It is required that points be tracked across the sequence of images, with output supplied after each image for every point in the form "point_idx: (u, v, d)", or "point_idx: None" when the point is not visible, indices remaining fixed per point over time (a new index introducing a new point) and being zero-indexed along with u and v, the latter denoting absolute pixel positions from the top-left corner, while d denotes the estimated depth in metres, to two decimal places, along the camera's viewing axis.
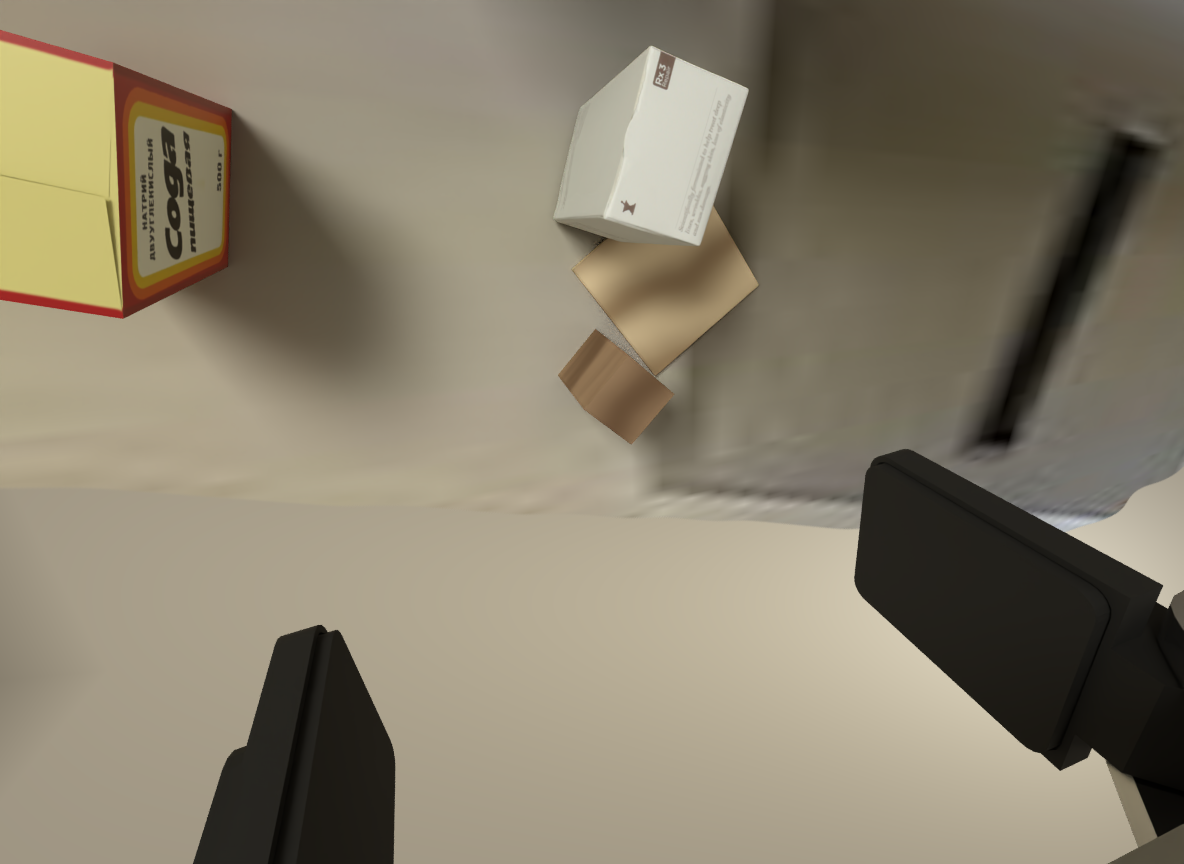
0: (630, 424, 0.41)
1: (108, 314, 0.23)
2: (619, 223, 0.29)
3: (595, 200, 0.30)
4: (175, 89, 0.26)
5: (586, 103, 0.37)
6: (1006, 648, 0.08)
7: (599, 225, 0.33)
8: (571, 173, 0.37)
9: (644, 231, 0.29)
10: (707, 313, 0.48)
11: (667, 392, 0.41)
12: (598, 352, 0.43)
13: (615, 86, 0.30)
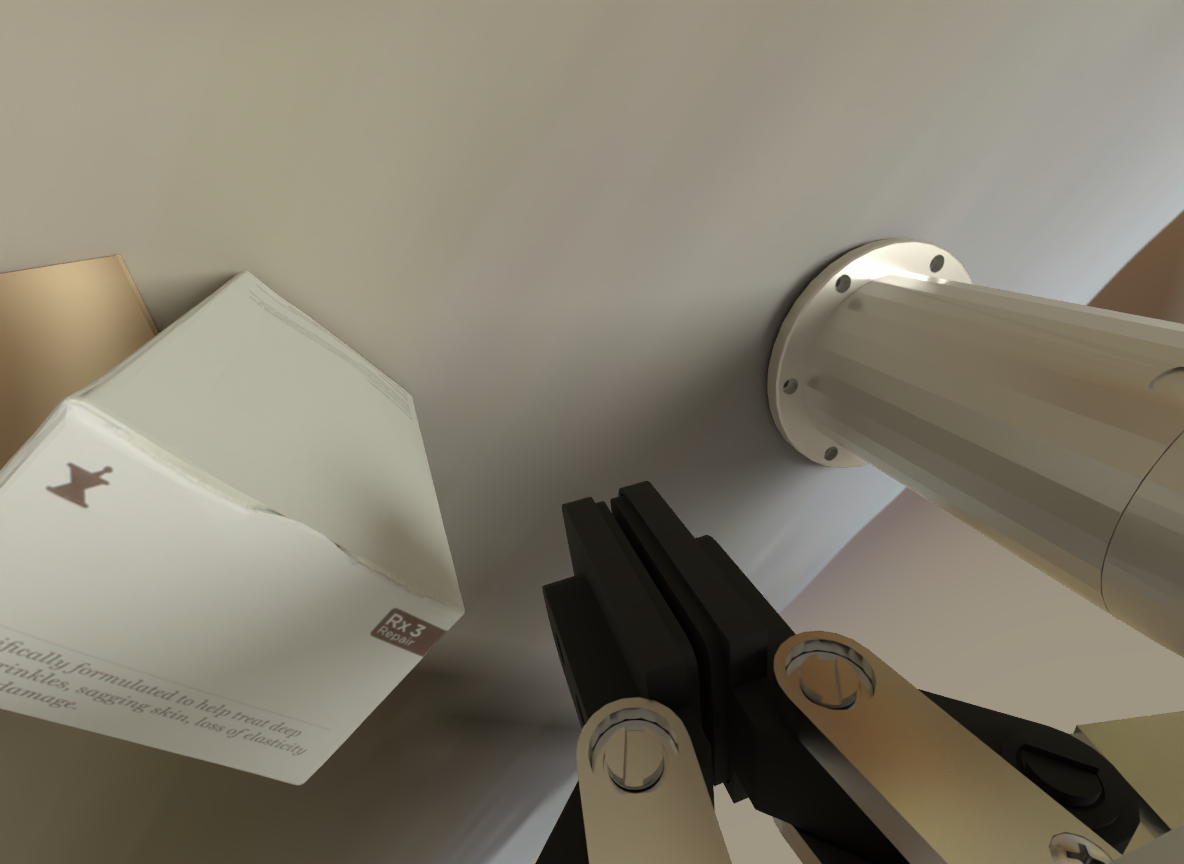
0: None
1: None
2: (31, 439, 0.08)
3: (183, 382, 0.11)
4: None
5: (413, 410, 0.23)
6: None
7: None
8: (311, 342, 0.19)
9: None
10: None
11: None
12: None
13: (420, 490, 0.16)
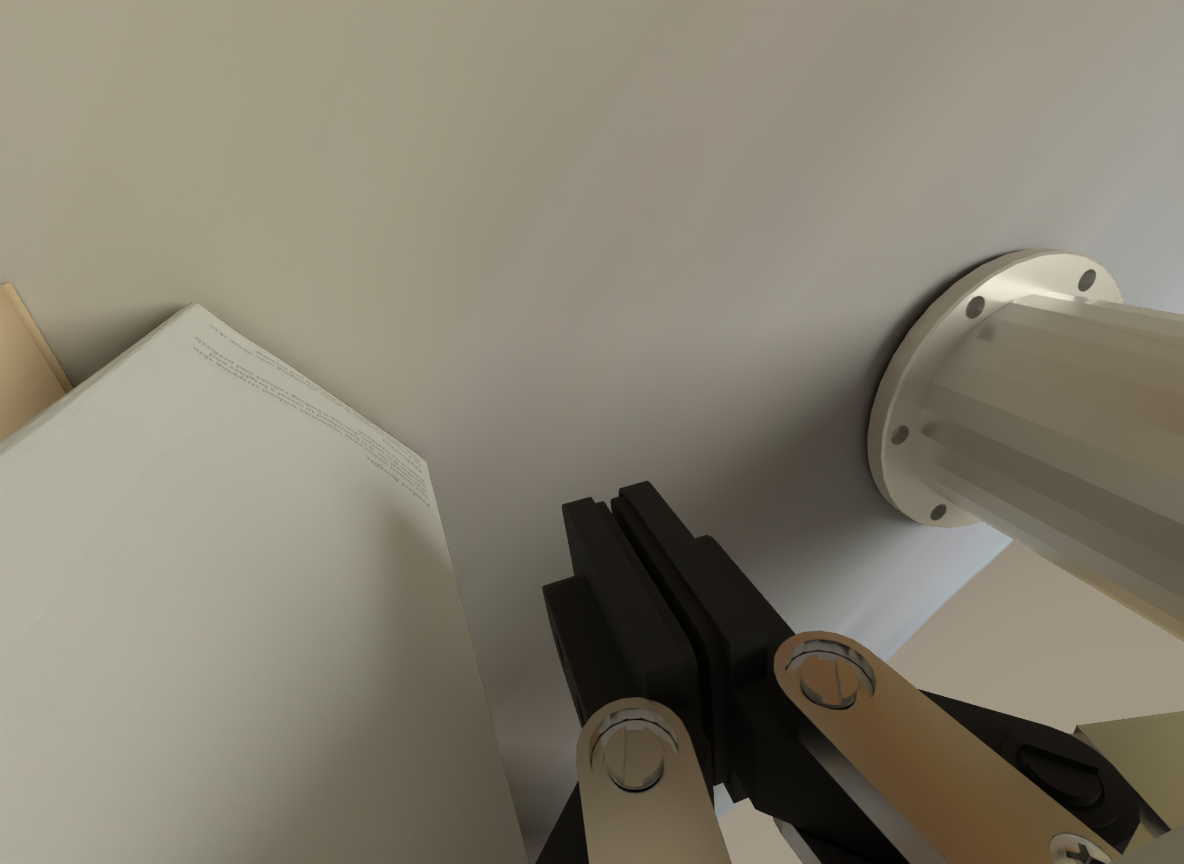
0: None
1: None
2: None
3: None
4: None
5: (430, 487, 0.17)
6: None
7: None
8: (286, 410, 0.13)
9: None
10: None
11: None
12: None
13: (455, 667, 0.10)
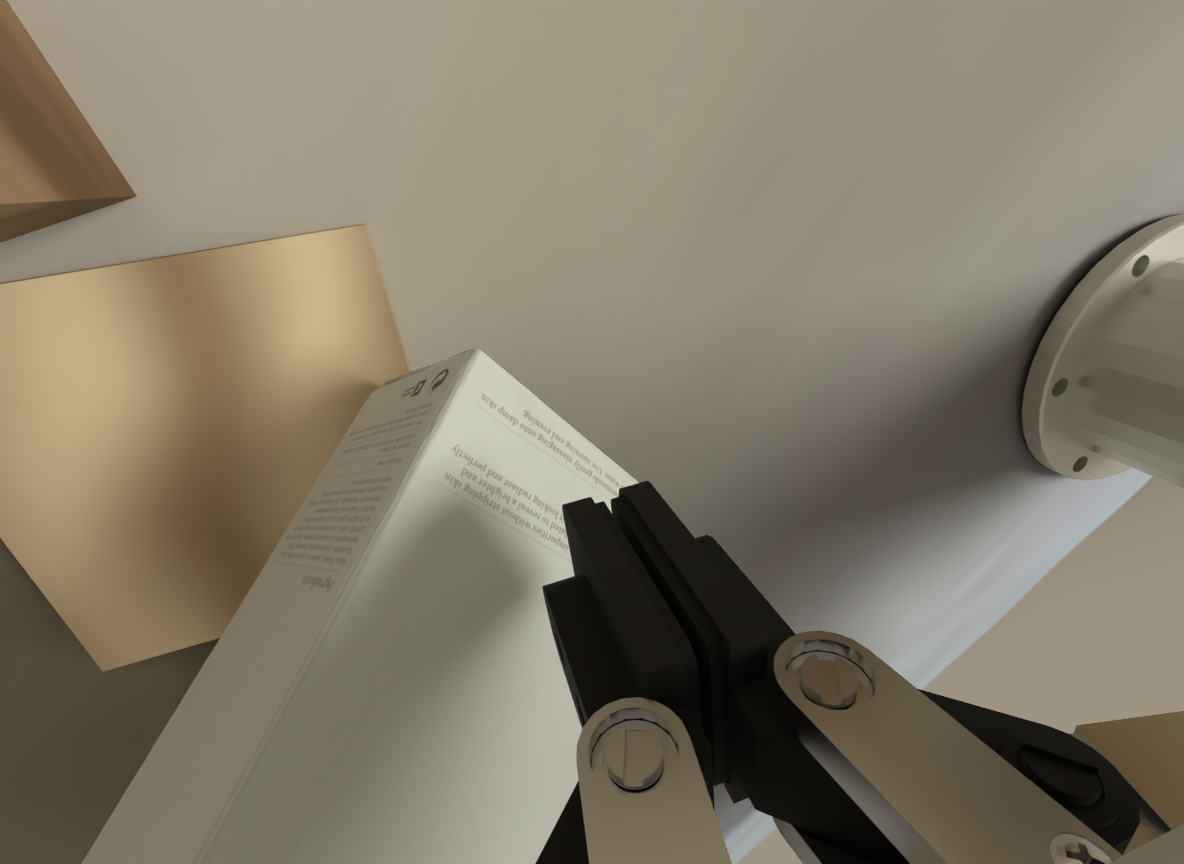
0: None
1: None
2: None
3: None
4: None
5: None
6: None
7: (207, 778, 0.09)
8: (516, 541, 0.13)
9: None
10: (57, 535, 0.16)
11: None
12: (3, 128, 0.10)
13: None
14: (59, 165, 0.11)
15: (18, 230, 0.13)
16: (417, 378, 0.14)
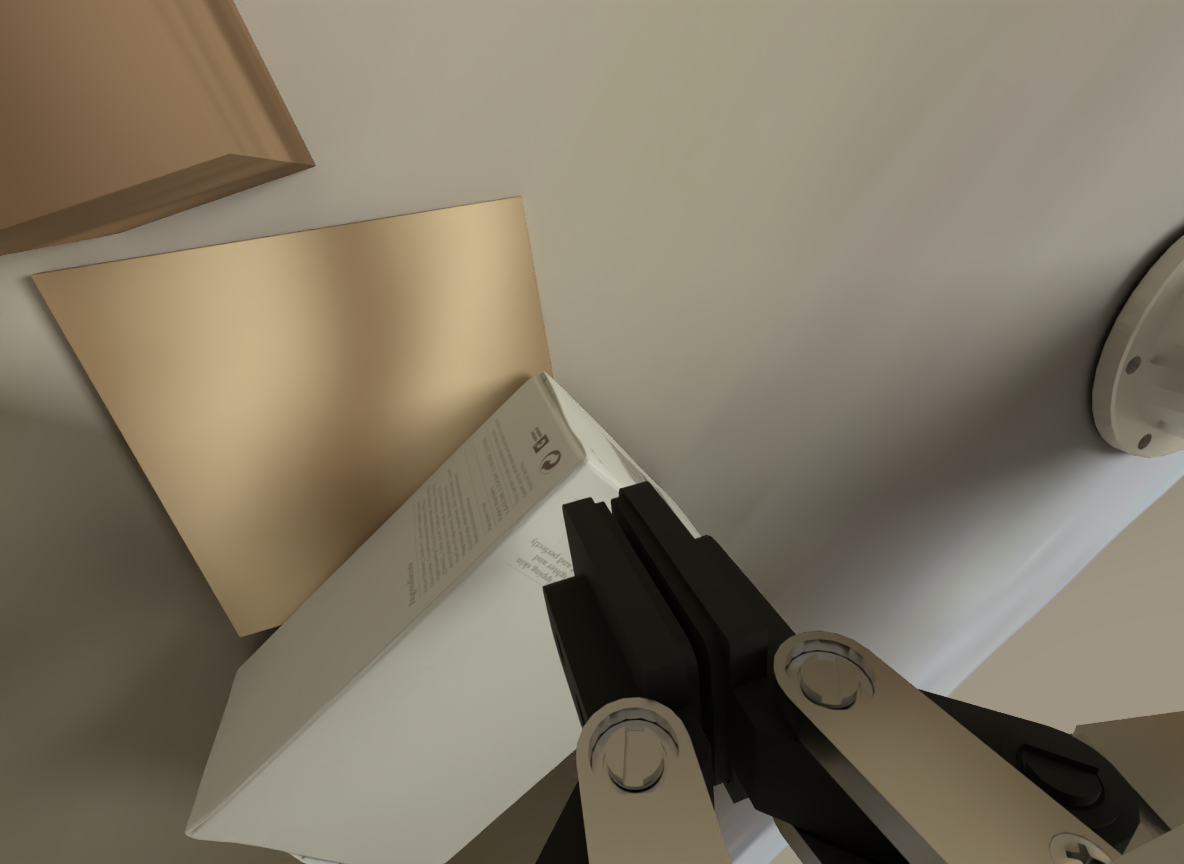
0: None
1: None
2: (196, 799, 0.15)
3: (283, 785, 0.14)
4: None
5: None
6: None
7: (322, 671, 0.15)
8: None
9: (213, 748, 0.16)
10: (213, 500, 0.16)
11: None
12: (254, 90, 0.11)
13: (508, 791, 0.17)
14: (282, 129, 0.12)
15: (219, 195, 0.13)
16: (548, 425, 0.15)
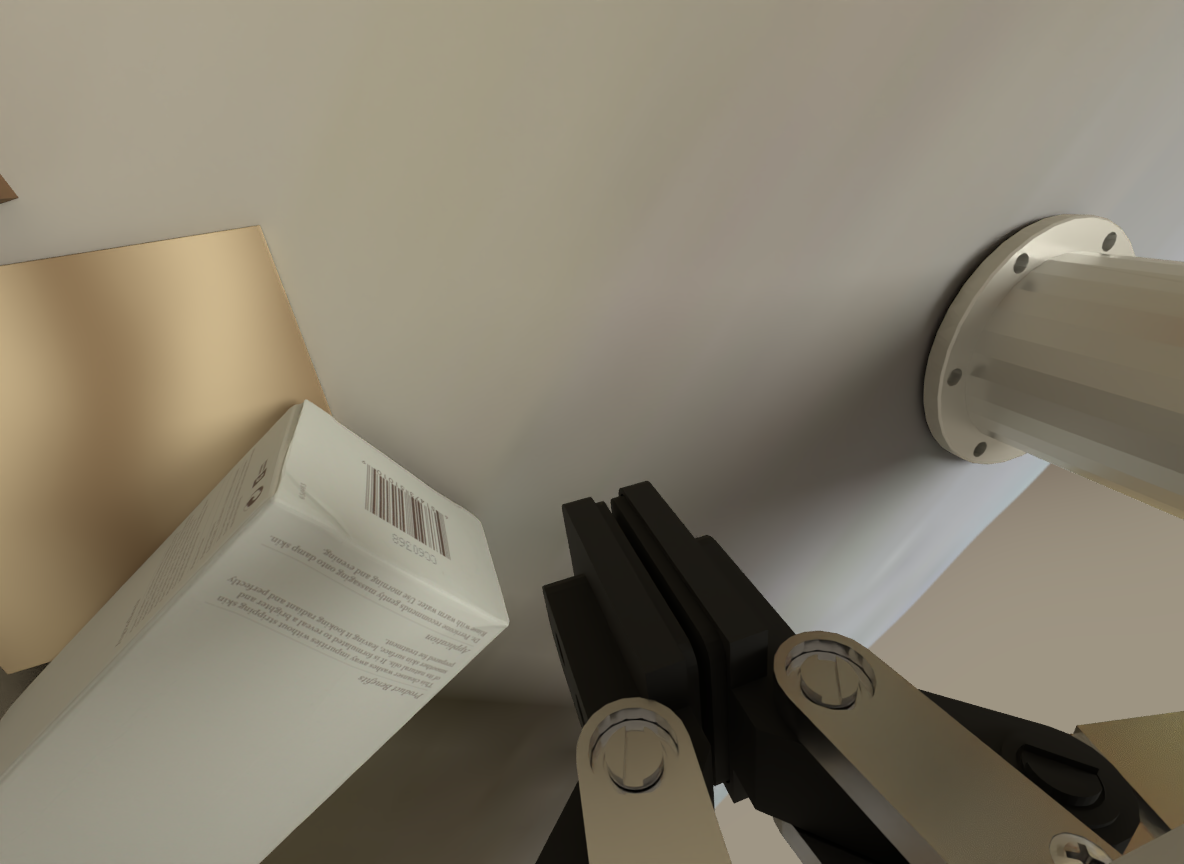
0: None
1: None
2: None
3: None
4: None
5: (460, 666, 0.17)
6: None
7: (40, 714, 0.14)
8: (290, 647, 0.14)
9: None
10: None
11: None
12: None
13: (277, 822, 0.17)
14: None
15: None
16: (272, 458, 0.15)
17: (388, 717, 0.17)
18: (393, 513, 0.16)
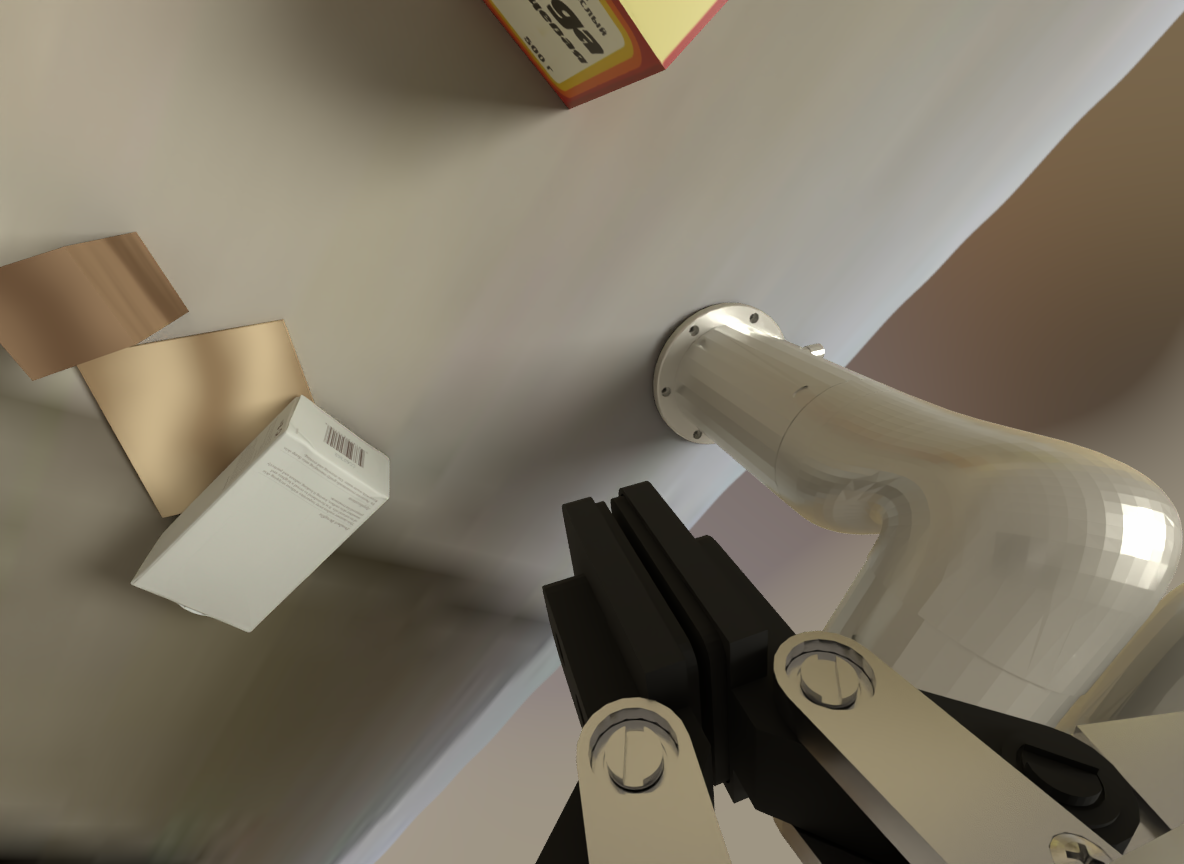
0: None
1: None
2: (136, 574, 0.36)
3: (172, 565, 0.35)
4: (614, 88, 0.29)
5: (366, 516, 0.38)
6: None
7: (189, 519, 0.35)
8: (290, 495, 0.35)
9: (145, 559, 0.37)
10: (148, 450, 0.37)
11: (41, 372, 0.27)
12: (154, 303, 0.31)
13: (283, 585, 0.38)
14: (167, 309, 0.32)
15: None
16: (285, 418, 0.35)
17: (333, 537, 0.38)
18: (337, 445, 0.37)
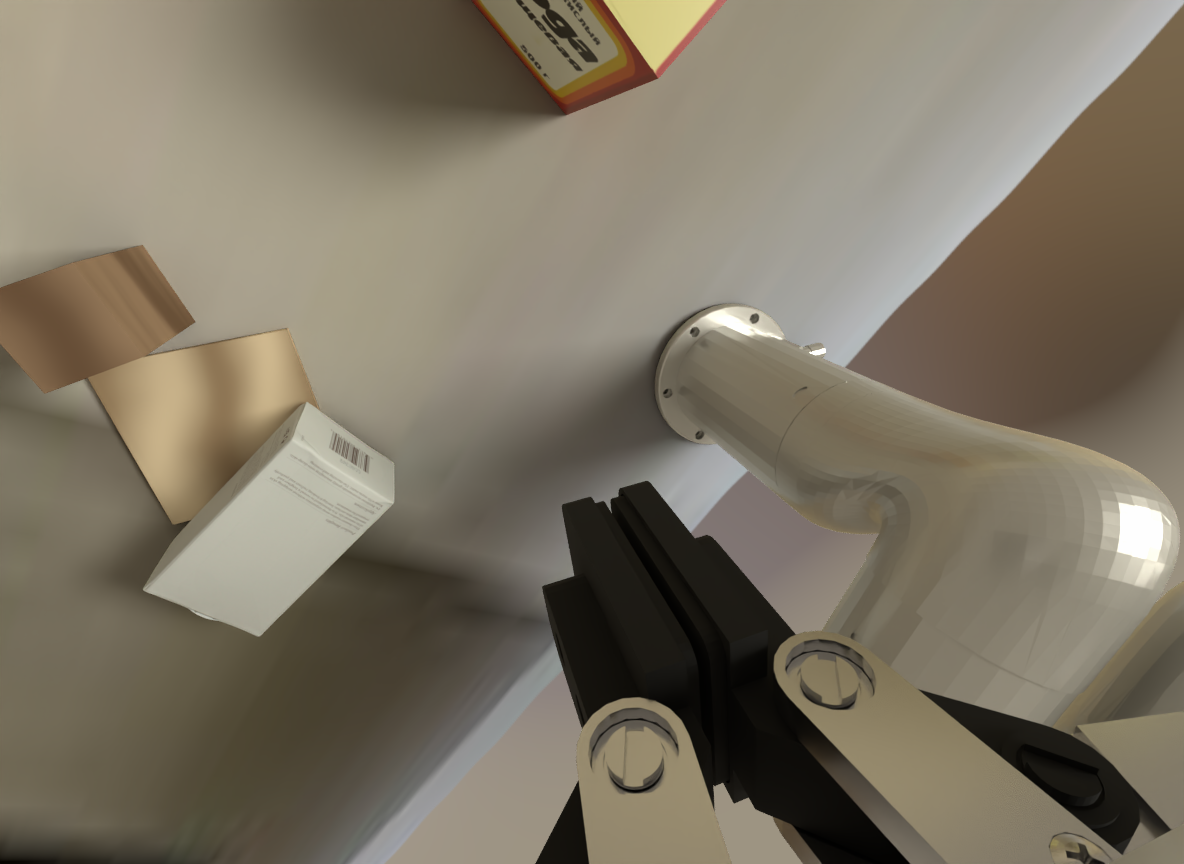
0: (10, 314, 0.26)
1: None
2: (148, 580, 0.36)
3: (182, 571, 0.36)
4: (610, 95, 0.29)
5: (372, 521, 0.38)
6: None
7: (199, 526, 0.36)
8: (297, 502, 0.36)
9: (157, 565, 0.38)
10: (157, 458, 0.38)
11: (52, 385, 0.28)
12: (161, 315, 0.32)
13: (291, 590, 0.39)
14: (174, 321, 0.33)
15: None
16: (291, 426, 0.36)
17: (340, 542, 0.38)
18: (342, 451, 0.37)
